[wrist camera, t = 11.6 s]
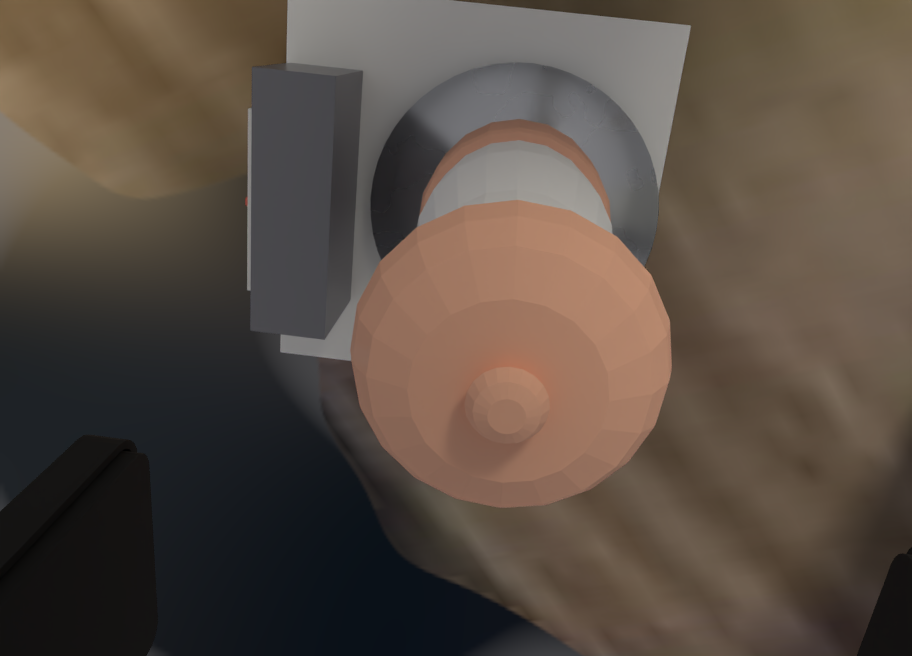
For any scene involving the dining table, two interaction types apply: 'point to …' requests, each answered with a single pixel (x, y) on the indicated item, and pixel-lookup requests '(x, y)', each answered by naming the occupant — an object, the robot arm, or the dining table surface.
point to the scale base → (377, 113)
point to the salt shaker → (512, 327)
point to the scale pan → (509, 98)
